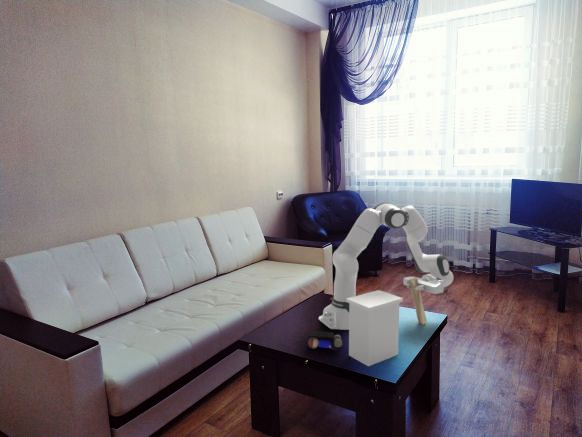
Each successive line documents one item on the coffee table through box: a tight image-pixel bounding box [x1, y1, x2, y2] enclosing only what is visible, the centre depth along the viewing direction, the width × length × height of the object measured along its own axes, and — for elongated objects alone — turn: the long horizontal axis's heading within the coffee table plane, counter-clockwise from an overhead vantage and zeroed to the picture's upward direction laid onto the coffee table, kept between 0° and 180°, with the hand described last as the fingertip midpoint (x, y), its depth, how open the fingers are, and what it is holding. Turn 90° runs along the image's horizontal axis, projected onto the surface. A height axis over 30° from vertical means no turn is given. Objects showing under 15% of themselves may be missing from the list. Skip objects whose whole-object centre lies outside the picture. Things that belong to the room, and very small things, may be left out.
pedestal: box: [346, 289, 404, 367], centre depth 184 cm, size 14×20×26 cm
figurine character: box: [307, 330, 343, 351], centre depth 193 cm, size 7×8×15 cm
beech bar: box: [409, 278, 428, 325], centre depth 216 cm, size 3×26×3 cm
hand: (411, 287), depth 212 cm, fingers closed on beech bar, 3 cm apart
